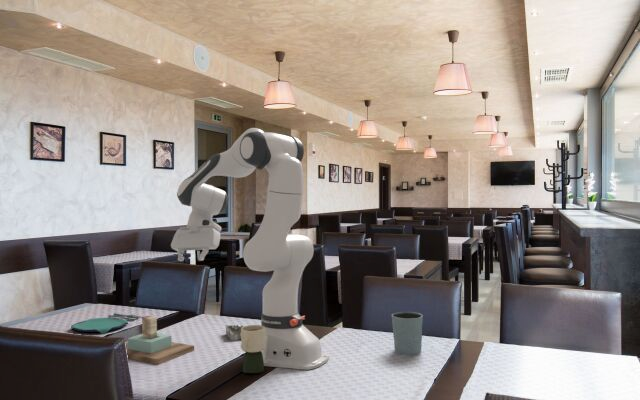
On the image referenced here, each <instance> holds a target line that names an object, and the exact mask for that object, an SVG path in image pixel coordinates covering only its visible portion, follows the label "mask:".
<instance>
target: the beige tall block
mask: <svg viewBox="0 0 640 400" xmlns="http://www.w3.org/2000/svg"><path fill="white" fill-rule="evenodd" d="M141 317H142V318H141V326H142V327H141V329H142V330H141V332H142V333H141V334H142V338H145V339H154V338H157V333H158V319H157V316H151V315H147V316H141Z"/></svg>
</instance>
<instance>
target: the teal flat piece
mask: <svg viewBox="0 0 640 400" xmlns="http://www.w3.org/2000/svg"><path fill="white" fill-rule="evenodd" d="M142 317H143V316H141V315H136V314H121V313H116V312H115V313H113V314H109V315H108V317H98V318H88V319H87V320H82V321H79V322H77V323H74V324H73V323H72V324H71V326H70V328H71V331H74V330H75V331H78V332H83V333H84V332H87V333H95V332H99V333H100V334H102V335H105V334H107V333H108V332H109V331H111V330H117V329H119V328H123V327H124V326H126V325H129V322H135V320H138V319H142Z"/></svg>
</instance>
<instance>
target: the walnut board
mask: <svg viewBox="0 0 640 400" xmlns="http://www.w3.org/2000/svg"><path fill="white" fill-rule="evenodd" d="M124 343H125V344H126V349H127V355H128V358H127V359H130V360H133V361H134V360H135V361H139V362H145V363H148V364H149V363H150V364H155V365H161V364H163V363H166V362H168V361H171V360H173V359H176V358H179V357H181V356H183V355H186V354H188V353H190V352H193V351H195V345H191V344H186V343H180V342H173V341H171V346H170V347H167V348H164V349H162V350H159V351H156V352H154V353H147V352H141V351H136V350H130V349H128V341H124Z"/></svg>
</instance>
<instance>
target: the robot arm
mask: <svg viewBox="0 0 640 400" xmlns="http://www.w3.org/2000/svg"><path fill="white" fill-rule="evenodd" d="M304 154H305V149H304V144H303V142H302V141H301V140H300V139H299V138H297V137H296V136H293V135H285V134H280V133H277V132H270V131H269V132H268V131H264V130H262V129H260V128H257V127H250V128H248V129H246V130H245V131H244V132H243V133H242V134H241V135H240V136H239V137H238V138H237V139H236V140H235V141H234V143H233V144H232V146H231V147H230V148H229V149H227V150H225V151H222V152H220V153H214V154H212V155H211V156H210V157H209V158H207V160H205V162H203V164H201V166H199V167H198V168H197V169H196V170H195V171H194V172H193V173H192V174H191V175H190V176H188V177H187V178H185V179H184V180H183V181H182V182H181V184H179V186H178V189H177V192H176V197H177V199H178V201H179V202H180V204H181V205H183V206H188V207H191V212H190V213H189V217H188V220H187V223H186V226H180V227H179V228H178V229H177V230H176V232H175V233H174V235H173V238H172V240H171V243H170V247H171V249H172V250H174V251H176V252H177V261H178V262H184V261H185V256H183V254H184V253H185V252H186V251H199V250H200V251H201V253H200V254H197V255H198V256H197V260H198V261H204V260H205V257H206V255H208V254H209V250H216V249H217V248H218V247H219V246H220V241H221V231H222V230H223V229H222V226H221V225H219V224H218V223H216V222H214V221H213V217H214V216H217V215H221V214H222V213H225V212H226V210H227V206H228V203H229V196H228V194H227V192H226V191H225V190H223V189H221V188H218V187H217V186H214V185H212V184H207V183H205V182H207V181H208V180H209V179H210V178H212V177H215V176H217V177H219V176H222V177H230V178H237V179H238V178H239V179H240V178H245V177H247V176H249V175H251V174H252V173H253V172H254V171H255V170H256V169H257V170H260V171H261V170H263V169H265V170H266V171H267V173H268V183H267V193H266V202H265V203H266V204H265V210H264V211H265V212H264V215H263V218H262V220H261V223H260V226H258V229H257V231H256V232H255V234H254V236H252V237H251V238H250V239H249V240H248V241H247V242H246V243H245V245H244V248H243V252H242V254H243V256H242V257H243V260H244V263H245V265H246V267H248V269H249V270H251V271H255V272H264V273H266V272H267V273H268V272H272V271H273V273H272V276H271V278H270V280H269V281H268V282H267V283H266V284H265V285H264V287H263V289H262V312H261V317H260V320H261V321H260V322H261V324H260V325H261V326H264V327H265V349H264V350H262V351H261V352H262V355H263V362H264V367H274V368H284V369H295V370H307V371H308V370H313V369H316V368H318V367H321V366H323V365H324V364H326V363H327V362H328V361H329V359H330V358H329V354H327V353H324V352H322V347H321V346H322V345H321V341H320V339H319V338H318V337H317V336H316V335H314V334H313V332H311V331H310V330H309V329H308V328H307V327H306V326H305V325H304V324H303V320H306V318H305V317H306V315H300V313H299V311H298V300H299V299H298V295H299V287H300V286H299V285H300V281H301V278H302V275H303V272H304V270H305V268H306V267H307V265H308V264H309V263H310V262H311V261H312V258H313V257H314V251H315V250H314V249H315V248H314V244H313V242H312V240H311V239H310V238H309V237H308V236H307V235H303V234H297V233H289V232H290V231H291V228H292V227H293V226H294V225H295V224H296V223H297V222H298V221H299V219H300V218H301V215H302V207H303V206H302V205H303V196H304V195H303V194H304V170H303V164H302V160H303V159H304Z"/></svg>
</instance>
